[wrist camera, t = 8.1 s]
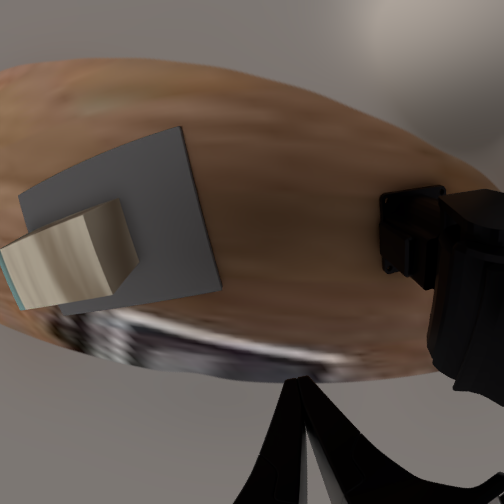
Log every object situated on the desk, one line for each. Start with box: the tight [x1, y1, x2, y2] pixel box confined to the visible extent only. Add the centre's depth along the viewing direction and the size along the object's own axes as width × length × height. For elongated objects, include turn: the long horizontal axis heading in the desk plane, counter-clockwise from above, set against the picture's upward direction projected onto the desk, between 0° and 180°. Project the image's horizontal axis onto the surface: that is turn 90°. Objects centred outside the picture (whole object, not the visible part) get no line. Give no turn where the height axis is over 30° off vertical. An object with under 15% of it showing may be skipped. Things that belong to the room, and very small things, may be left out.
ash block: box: [0, 198, 139, 310], centre depth 16 cm, size 5×5×10 cm
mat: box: [18, 126, 222, 316], centre depth 19 cm, size 16×12×1 cm
